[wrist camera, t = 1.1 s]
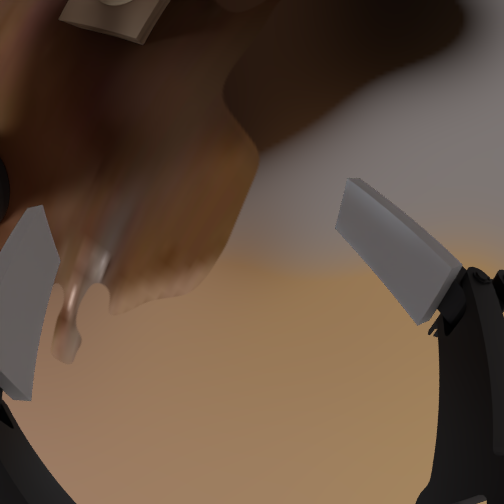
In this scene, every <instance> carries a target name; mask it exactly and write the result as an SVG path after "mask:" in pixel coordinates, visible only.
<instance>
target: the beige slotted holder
mask: <svg viewBox="0 0 504 504" xmlns="http://www.w3.org/2000/svg"><path fill="white" fill-rule="evenodd" d="M169 2H170V0H69V1H68V2H67V4H66V6H65V8H64V9H63V11H62V13H61V15H60V17H59V19H58V20H61V21H63V22H66V23H69V24H71V25H74V26H76V27H79V28H82V29H87V30H91V31H95V32H99V33H103V34H107V35H111V36H114V37H118V38H121V39H125V40H128V41H131V42H134V43H138V44H141V45H144V43H145V41H146V39H147V38H148V36H149V34H150V32H151V31H152V29H153V27H154V26H155V24H156V22H157V21H158V19H159V17H160V16H161V14H162V13H163V11H164V9H165V8H166V6H167V5H168V3H169Z"/></svg>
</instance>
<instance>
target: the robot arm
mask: <svg viewBox="0 0 504 504" xmlns="http://www.w3.org/2000/svg"><path fill="white" fill-rule="evenodd" d="M9 195H10V191H9V181H8V176H7V172H6V169H5V167H4V164H3V162H2V160H1V158H0V221H1V220H2V219H3V217H4V215H5V213H6V211H7V208H8V204H9ZM335 229H336V230H337V231H338V232H339V233H340V234H341V235H342V236H343V238H344V239H345V240H346V241H347V242H348V243H349V244H350V245H351V246H352V247H353V249H354V250H355V251H356V252H357V253H358V254H359V255H360V256H361V258H362V259H363V260H364V261H365V262H366V263H367V264H368V266H369V267H370V268H371V269H372V270H373V271H374V273H375V274H376V275H377V276H378V277H379V279H380V280H381V281H382V282H383V283H384V284H385V286H386V287H387V288H388V289H389V290H390V292H391V293H392V294H393V295H394V296H395V298H396V299H397V300H398V302H399V303H400V304H401V305H402V306H403V308H404V309H405V310H406V312H407V313H408V314H409V315H410V317H411V318H412V319H413V320H414V322H415V323H416V324H417V325H420V324H422V323H424V322H426V321H429V320H430V318H431V317H432V315H433V314H434V312H435V311H436V309H438V310H439V311H440V315H439V317H438V318H437V319H436V321H435V322H434V324H433V325H432V327H431V328H430V329H429V332H428V335H430V334H431V333H432V332H433V331H434V329H437V331H436V332H435V334H434V336H435V337H438V344H439V377H440V378H439V386H440V387H439V411H438V412H439V413H438V426H437V438H436V446H435V453H434V460H433V467H432V473H431V478H430V482H429V483H428V485H427V486H426V488H425V489H424V490H423V491H422V492H421V493H420V495H419V497H418V498H417V501H416V504H477V503H480V502H483V501H486V500H487V504H504V317H503V314H502V313H503V312H504V270H499V271H498V272H497V274H496V276H495V278H494V279H490V277H489V276H487V275H486V274H485V273H484V272H483V271H482V270H480V269H478V268H475V267H469V268H468V269H467V270H466V269H465V268H464V267H463V266H462V264H461V263H460V262H459V261H458V260H457V259H456V258H455V257H454V256H453V255H452V254H451V253H450V252H449V251H448V250H447V249H446V248H444V247H443V246H442V245H441V244H440V243H439V242H438V241H437V240H436V239H435V238H434V237H432V236H431V235H430V234H429V233H428V232H427V231H426V230H424V229H423V228H422V227H421V226H420V225H419V224H417V223H416V222H415V221H414V220H413V219H412V218H410V217H409V216H408V215H407V214H406V213H404V212H403V211H402V210H401V209H399V208H398V207H397V206H395V205H394V204H393V203H392V202H391V201H389V200H388V199H387V198H385V197H384V196H383V195H381V194H380V193H379V192H378V191H376V190H375V189H374V188H372V187H371V186H369V185H368V184H367V183H365V182H364V181H363V180H361V179H360V178H348V179H347V182H346V186H345V191H344V195H343V199H342V203H341V207H340V211H339V215H338V219H337V223H336V227H335ZM59 264H60V258H59V255H58V253H57V250H56V247H55V244H54V241H53V238H52V235H51V232H50V229H49V225H48V222H47V219H46V215H45V212H44V208H43V205H40V206H36V207H31V208H27V210H26V211H25V213H24V214H23V216H22V217H21V219H20V220H19V222H18V223H17V225H16V227H15V228H14V230H13V231H12V233H11V235H10V236H9V238H8V240H7V241H6V243H5V245H4V247H3V248H2V250H1V252H0V504H76V503H75V502H74V501H73V500H72V498H71V497H70V496H69V495H68V494H67V493H66V492H65V491H64V489H63V488H62V487H61V486H60V485H59V483H58V482H57V481H56V480H55V478H54V477H53V476H52V474H51V473H50V472H49V470H48V469H47V468H46V466H45V465H44V464H43V462H42V461H41V460H40V458H39V457H38V455H37V454H36V452H35V451H34V450H33V448H32V446H31V445H30V443H29V442H28V440H27V439H26V437H25V435H24V434H23V432H22V431H21V429H20V427H19V426H18V424H17V422H16V420H15V419H14V417H13V415H12V413H11V411H10V409H9V408H8V406H7V404H6V403H5V402H4V401H3V400H2V392H3V391H4V392H5V393H6V394H7V395H9V396H10V397H11V398H12V399H13V400H24V401H31V397H32V386H33V378H34V370H35V363H36V357H37V351H38V346H39V340H40V335H41V330H42V326H43V321H44V317H45V313H46V309H47V305H48V301H49V297H50V294H51V290H52V286H53V283H54V280H55V276H56V273H57V270H58V267H59Z"/></svg>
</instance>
